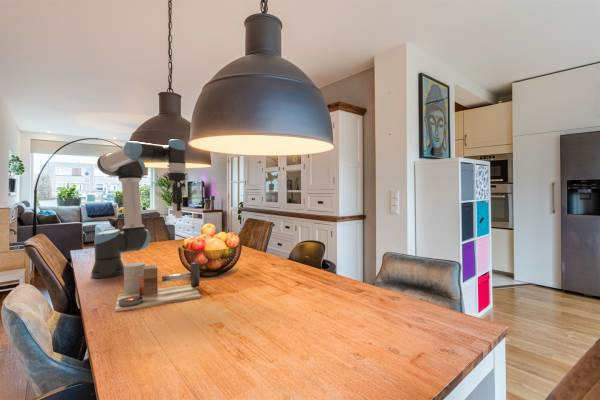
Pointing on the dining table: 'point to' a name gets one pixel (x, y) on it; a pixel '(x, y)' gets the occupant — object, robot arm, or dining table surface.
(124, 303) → the handwheel
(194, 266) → the t-handle
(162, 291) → the block
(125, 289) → the beige solid cylinder
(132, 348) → the dining table surface
